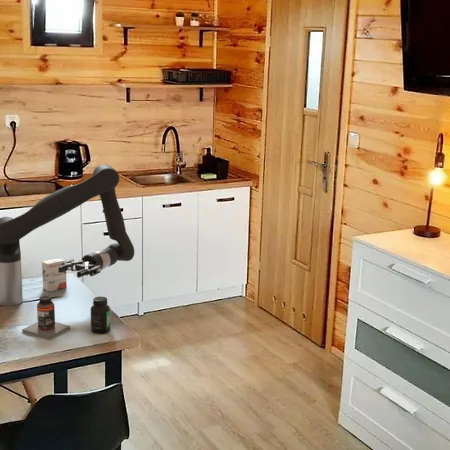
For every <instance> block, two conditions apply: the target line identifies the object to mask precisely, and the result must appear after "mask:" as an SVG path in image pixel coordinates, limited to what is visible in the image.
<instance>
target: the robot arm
mask: <svg viewBox="0 0 450 450" xmlns="http://www.w3.org/2000/svg"><path fill="white" fill-rule="evenodd" d="M119 182H120V174H119V172H118V171H117V170H116V169H115V168H113V167H112V166H110V165H108V164H105V163H103V164H100V165H97V166H96V167H95V168H94V170H93V172H92V176H91V177H89V178H87V179H85V180H83V181H82V182H79V183H76V184H73V185H69V186H66V187H62V188H59V189H58V190H56V191H53V192H52V193H50V194H47V195H46V196H45V197H43V198H42V199H40V200H39V201H37V202H36V203H35V204H34V205H33V206H32V207H30V209H29V210H27V211H25V213H22V214H21V215H19V216H16V217H15V218H13V217H11V216H2V217H0V305H1V306H4V307H5V306H6V307H11V306H16V305H17V306H18V305H19V304H21V303H22V302H23V300H24V298H23V273H22V272H23V271H22V252H21V245H20V244H21V243H20V240H21V239H23V238H24V237H26V236H27V235H29V234H30V233H32V232H33V231H34V230H36V229H38V228H40V227H43V226H45V225H47V224H48V223H51V222H52V221H54V220H56V219H58V218H60V217H61V216H64V215H66V214H67V213H69V212H71V211H72V210H74V209H76V208H78V207H79V206H81V205H83V204H85V203H86V202H87V201H90V200H91V199H93V198H95V197H97V196H99V197H100V200H101V201H100V202H101V205H102V209H103V214H104V215H103V216H104V219H105V224H106V229H107V234H108V237H109V239H110V240H112V241H114V242H115V243H111V244H109V245H108V246H107V247H105V248H103V249H101V250H100V249H99V250H96V251H93V252H91V253H87V254H86V255H84V256H82V258H81V259H80V260H76V261H75V259H74V258H71V259H69V260H65V262H62V266H60V267H59V273H62V272H64V271H66V272H67V271H71V272H76V277H77V278H82V277H83V276H90V277H94V276H96V275H98V274H100V273H101V271H103V270H105V269H106V268H108V267H111V266H113V265H115V264H116V263H117V262H118V261H120V262H121V261H122V262H129V261H131V260H133V258H134V256H135V247H134V245H133V243H132V240H131V239H130V237H129V234H128V233H127V231H126V230H127V229H126V225H125V221H124V216H123V213H122V210H121V208H120V204H119V201H118V198H117V193H116V187H118V184H119Z"/></svg>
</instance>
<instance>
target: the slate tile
mask: <svg viewBox="0 0 450 450" xmlns="http://www.w3.org/2000/svg"><path fill="white" fill-rule="evenodd" d="M69 330H71V325H68V324H65V323H62V322H61V323H60V322H57V321H55V327H54V328H52V329H50V330H41V329H39V328H38V321H36V322H35V323H32V324H30V325H29V326H27V327H24V328H22V329H21V331H22V333H23V334H26V335H31V336H34V337H36V338H40V339H45V340H48V341H50V340H52V339H54V338H56V337H58V336H60V335H62V334H64V333H65V332H67V331H69Z"/></svg>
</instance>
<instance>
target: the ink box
mask: <svg viewBox="0 0 450 450" xmlns="http://www.w3.org/2000/svg"><path fill="white" fill-rule="evenodd" d="M65 261H66V260H65V259H63V258H61V257H59V258H55V259H49V260H44V261H43V260H42V261H41V271H42V272H41V273H42V274H41V275H42V276H41V277H42V289H44V290H45V291H47V292H51V291H56V290H60V289H65V288H67V285H68V283H67V271H64V272H62V273H59V267H60V266H62V262H65Z"/></svg>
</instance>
